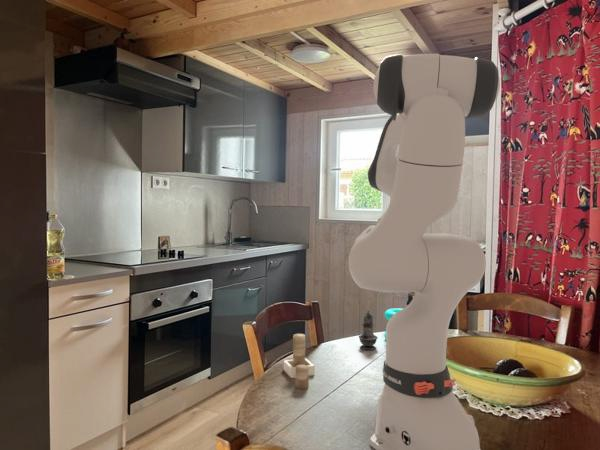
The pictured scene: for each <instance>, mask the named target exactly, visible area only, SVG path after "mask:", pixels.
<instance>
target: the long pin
mask: <svg viewBox="0 0 600 450" xmlns="http://www.w3.org/2000/svg"><path fill="white" fill-rule="evenodd" d="M305 358H306V335H305V334H304V333H295V334H293V336H292V359H293V367H296V366H297V365H305Z"/></svg>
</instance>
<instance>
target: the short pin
mask: <svg viewBox="0 0 600 450" xmlns="http://www.w3.org/2000/svg"><path fill="white" fill-rule="evenodd" d="M309 377H310V376H309V367H308V366H307V365H297V366H296V378H295V389H297V390H301V391H302V390H308V389H309Z"/></svg>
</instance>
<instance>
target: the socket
mask: <svg viewBox="0 0 600 450" xmlns="http://www.w3.org/2000/svg"><path fill="white" fill-rule="evenodd" d="M305 365H307V366H308V367H309V377H311V376H315V365H314V364H313V363H312V361H310V360H309V359H307V357H305ZM283 370H284V372H285V373H286V374H287V376H288V377H289V378H291V379H296V367H293V358H292V359H285V360H283Z"/></svg>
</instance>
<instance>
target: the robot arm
mask: <svg viewBox="0 0 600 450" xmlns="http://www.w3.org/2000/svg"><path fill="white" fill-rule="evenodd" d="M500 82H501V81H500V74H499V68H498V67H497V65H496V64H495V62H493V61H492V60H489V59H486V58H482V57H477V56H476V57H474V58H471V57H466V56H460V55H459V56H457V55H449V54H447V55H446V54H445V55H444V54H439V53H417V54H408V55H403V54H402V53H400V54H399V53H398V54H393V55H388V56H386V57H384V59H383V60H382V61H381V62H380V64H379V67H378V69H377V70H376V72H375V76H374V79H373V93H374V98H375V100H376V104H377V106H378V107H379V108H380V110H381V111H382V112H384V113H386V114H387V115H389V116H390V117H389V118H388V119H387V121H386V122H385V125H384V126H383V129H382V131H381V134H380V137H379V141H378V143H377V147H376V151H375V154H374V158H373V160H372V162H371V163H370V166H369V168H368V170H367V180H368V183H369V186H370V187H371V188H373V189H375V190H378V191H380V192H382V193H384V194H385V195H386V196H388V197H390V198H391V199H390V201H389V203H388V206H387V209H386V210H385V211H384V212H383V213H382V214H381V215H380V216H379V217H378V219H377V223H376V224H375V225H369V226H368V227H367V228H366V229H364V230H363V231H362V232H361V233H360V235H358V236H357V237H356V239H355V240H354V244H353V245H352V247H351V250H350V251H349V254H348V270H349V273H350V276H351V278H352V280H353V281H354V283H355V284H356V285H357V286H358V287H359V288H360V289H364V290H368V291H373V292H380V293H384V294H385V293H414V294H413V297H412V300H411V301H410V302H409V304H408V305H407V306H405V307H404V308H402V310H400V311H399V312H397V313H395V314H394V315H393V316H392V317H391V318H390V320H388V322H387V324H386V327H385V330H386V331H385V332H386V339H385V360H384V361H383V367H382V375H383V377H382V378H383V379H382V381H383V383H384V386H383V388H382V391H381V393H380V395H379V397H378V400H377V408H376V417H375V418H376V420H375V430H374V433H373V434H372V435H371V436H370V438H369V446H370V447H372V448H373V449H374V450H482V449H481V446H480V437H479V432H478V429H477V426H476V424H475V423H476V422H475V419H474V416H473V415H471V414H467V412H466V410H465V409H464V407H463V406H462V404H461V403H460V402H459V400H458V398H457V397H456V396H455V394H454V393H453V389H454V388H453V386H454V387H455V386H456V384H455V383H454V382H456V381H457V380H456V379H455V378H454V379H451V373H450V372H449V368H448V366H447V345H448V343H447V342H448V332H449V327H450V322H451V319H452V316H453V314H454V312H455V310H456V308H457V307H458V305H459V303H460V302H461V300H462V299H463V298H464V296H465V295H466V294H467V293H469V291H471V290H472V289H473V288H474V287H476V286H477V285H478V284H479V283H480V282H481V280H482V278H483V277H484V274H485V271H486V267H487V266H486V265H487V263H486V255H485V252H484V250H483V248H482V247H481V244H480V243H478V241H477V240H475V239H474V238H472V237H468V236H463V235H459V234H454V233H425V232H426V231H427V229H428V228H429V227H430V226H431V225H432V224H433V223H434V222H437V221H438V220H439V219H442V218H444V217H446V216H447V215H449V214H450V213H451V212H452V211H453V210H454V208H455V206H456V205H457V202H458V196H459V191H460V190H459V189H460V184H461V177H462V171H463V162H464V157H465V156H464V155H465V147H466V145H465V144H466V119H475V118H476V119H477V118H480V117H484V116H486V115H487V114H488V113H489V112H491V110H492V109H493V107H494V104H495V103H496V100H497V98H498V96H499V94H500V85H501V83H500ZM397 151H398V152H397ZM396 153H397V155H396Z"/></svg>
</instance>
